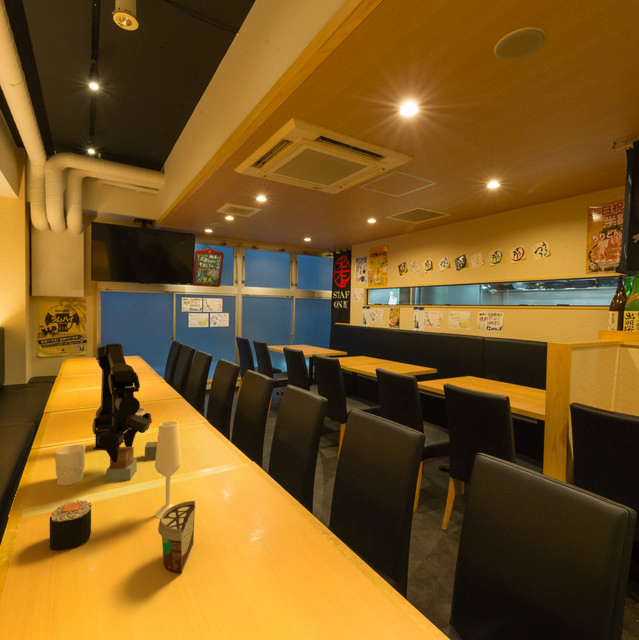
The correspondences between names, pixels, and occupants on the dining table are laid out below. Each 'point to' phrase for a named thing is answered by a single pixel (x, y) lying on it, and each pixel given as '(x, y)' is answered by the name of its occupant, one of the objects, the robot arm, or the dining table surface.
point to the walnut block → (123, 458)
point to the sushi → (70, 525)
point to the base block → (121, 473)
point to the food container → (177, 535)
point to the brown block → (150, 451)
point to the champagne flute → (167, 457)
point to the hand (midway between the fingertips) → (122, 456)
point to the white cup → (69, 464)
